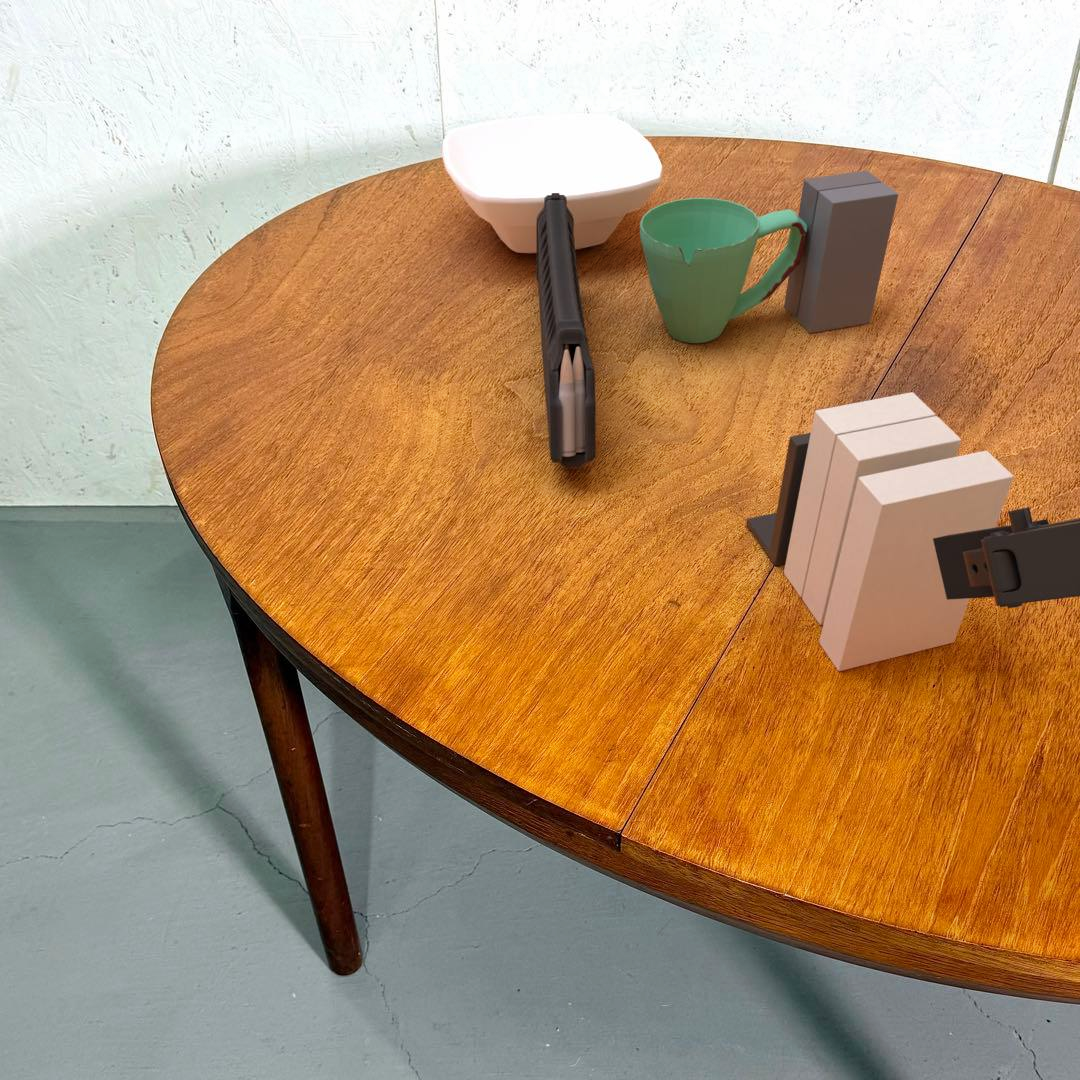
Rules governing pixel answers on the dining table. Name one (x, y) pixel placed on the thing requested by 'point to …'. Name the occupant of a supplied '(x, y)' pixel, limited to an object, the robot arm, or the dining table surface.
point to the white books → (841, 483)
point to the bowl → (552, 173)
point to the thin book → (906, 557)
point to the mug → (711, 262)
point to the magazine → (564, 339)
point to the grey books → (840, 250)
